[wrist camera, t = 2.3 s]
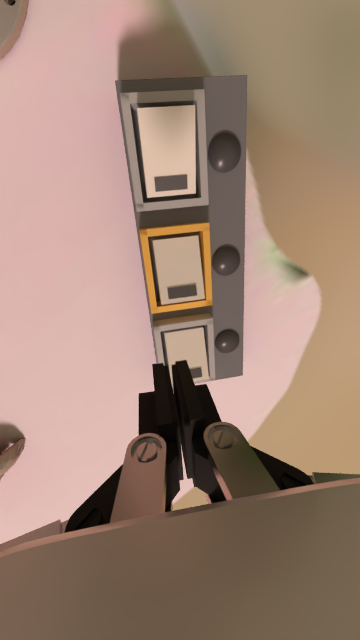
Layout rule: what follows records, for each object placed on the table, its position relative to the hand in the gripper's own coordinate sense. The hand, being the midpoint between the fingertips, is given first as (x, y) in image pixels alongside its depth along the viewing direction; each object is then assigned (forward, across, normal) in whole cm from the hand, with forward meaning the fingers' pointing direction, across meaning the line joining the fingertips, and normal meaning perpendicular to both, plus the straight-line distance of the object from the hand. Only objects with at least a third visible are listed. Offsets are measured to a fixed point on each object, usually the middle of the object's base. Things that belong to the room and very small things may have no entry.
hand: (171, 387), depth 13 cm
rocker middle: (+13, -2, -3) cm, 13 cm away
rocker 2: (+13, -3, +6) cm, 15 cm away
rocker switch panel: (+17, -4, -3) cm, 18 cm away
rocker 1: (+12, -2, -12) cm, 17 cm away
